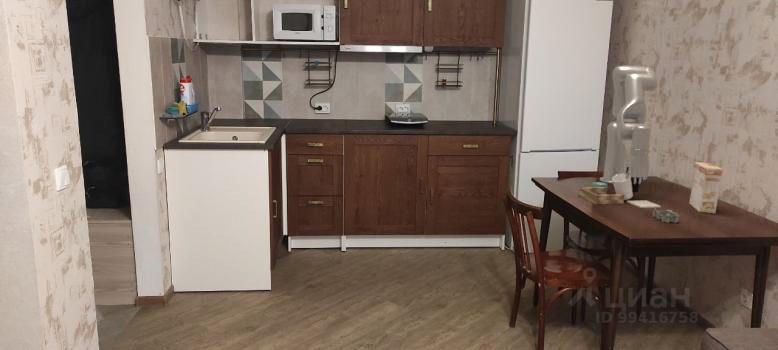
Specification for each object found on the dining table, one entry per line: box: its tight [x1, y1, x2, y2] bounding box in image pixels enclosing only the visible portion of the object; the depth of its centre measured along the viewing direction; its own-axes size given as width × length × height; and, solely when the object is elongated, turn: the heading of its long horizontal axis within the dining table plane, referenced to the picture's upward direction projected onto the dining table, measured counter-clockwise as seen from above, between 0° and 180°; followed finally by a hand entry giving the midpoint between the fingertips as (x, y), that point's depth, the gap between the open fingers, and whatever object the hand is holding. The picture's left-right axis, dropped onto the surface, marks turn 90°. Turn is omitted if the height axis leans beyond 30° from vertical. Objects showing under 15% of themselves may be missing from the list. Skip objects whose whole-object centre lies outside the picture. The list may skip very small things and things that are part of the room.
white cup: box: [612, 173, 634, 201], centre depth 273 cm, size 8×8×10 cm
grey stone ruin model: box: [652, 207, 681, 224], centre depth 245 cm, size 11×8×4 cm
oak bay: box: [578, 186, 625, 205], centre depth 272 cm, size 14×14×4 cm
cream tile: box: [626, 199, 662, 209], centre depth 266 cm, size 10×10×1 cm
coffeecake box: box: [689, 161, 724, 214], centre depth 263 cm, size 15×7×20 cm, turn 168°
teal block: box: [591, 181, 609, 195], centre depth 283 cm, size 5×5×5 cm
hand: (634, 192), depth 274 cm, fingers closed
